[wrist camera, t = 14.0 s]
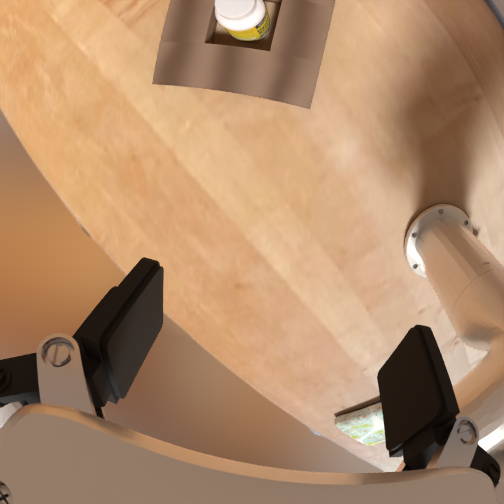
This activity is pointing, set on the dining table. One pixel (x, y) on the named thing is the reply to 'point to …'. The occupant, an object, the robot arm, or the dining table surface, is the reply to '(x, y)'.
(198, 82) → the walnut board
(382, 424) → the towel
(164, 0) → the dining table surface
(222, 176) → the dining table surface
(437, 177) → the dining table surface
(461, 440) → the robot arm
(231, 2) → the supplement bottle
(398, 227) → the dining table surface
